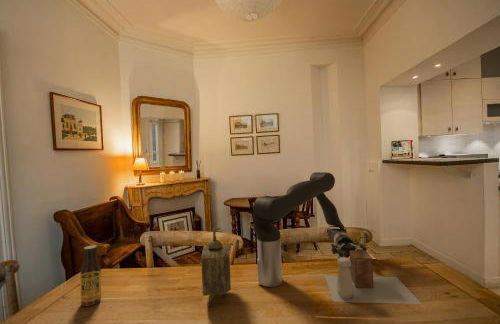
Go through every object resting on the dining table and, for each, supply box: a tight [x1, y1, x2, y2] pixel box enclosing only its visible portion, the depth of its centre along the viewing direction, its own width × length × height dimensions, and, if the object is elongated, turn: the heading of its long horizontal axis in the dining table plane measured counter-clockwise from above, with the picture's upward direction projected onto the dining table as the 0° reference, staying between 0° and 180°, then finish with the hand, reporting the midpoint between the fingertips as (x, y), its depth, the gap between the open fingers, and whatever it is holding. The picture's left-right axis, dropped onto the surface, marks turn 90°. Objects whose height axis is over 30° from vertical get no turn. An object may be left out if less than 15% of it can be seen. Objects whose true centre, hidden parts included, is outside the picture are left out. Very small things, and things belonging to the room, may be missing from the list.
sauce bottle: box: [79, 244, 102, 307], centre depth 90 cm, size 7×6×20 cm
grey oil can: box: [201, 226, 232, 308], centre depth 90 cm, size 14×9×25 cm, turn 5°
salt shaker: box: [336, 256, 354, 300], centre depth 87 cm, size 6×6×13 cm
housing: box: [349, 250, 374, 288], centre depth 95 cm, size 6×7×11 cm
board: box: [324, 275, 422, 305], centre depth 91 cm, size 27×18×1 cm, turn 83°
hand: (352, 255), depth 105 cm, fingers open, 8 cm apart
